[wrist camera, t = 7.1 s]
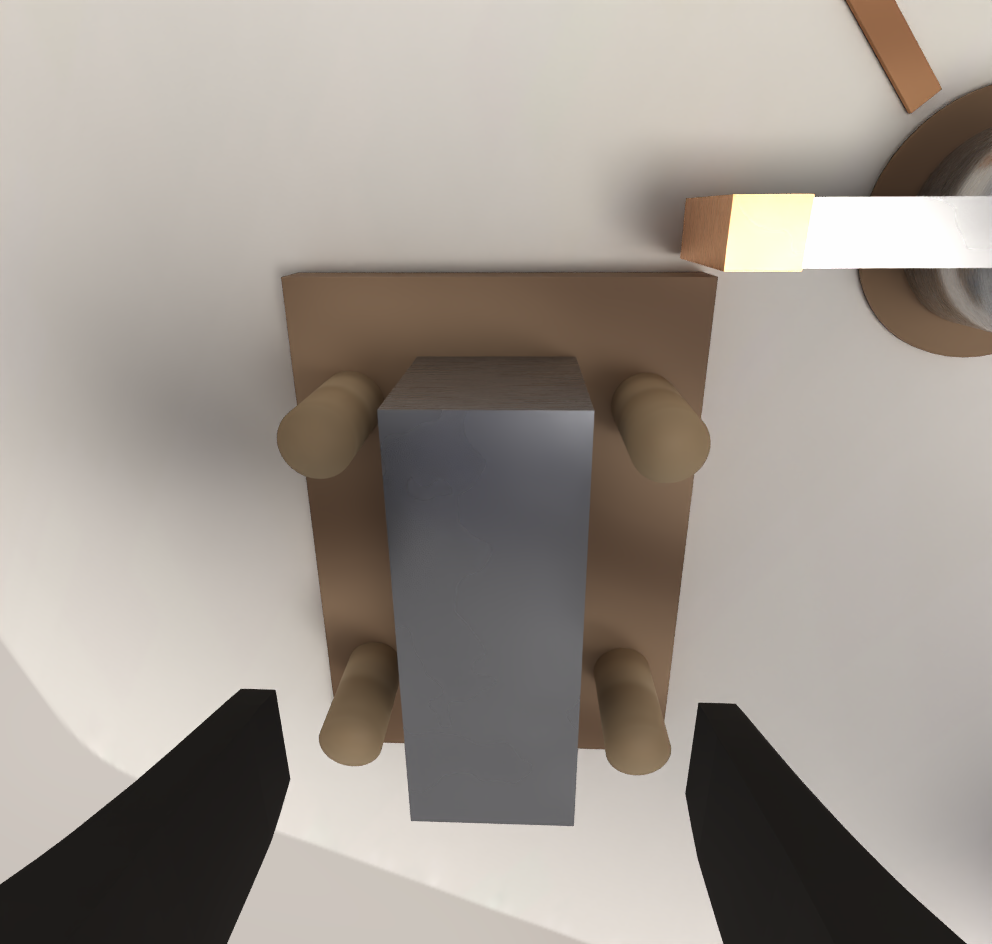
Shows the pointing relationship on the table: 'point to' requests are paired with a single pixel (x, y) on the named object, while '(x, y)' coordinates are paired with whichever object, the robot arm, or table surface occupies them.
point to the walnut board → (614, 476)
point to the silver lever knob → (867, 234)
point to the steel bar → (489, 581)
